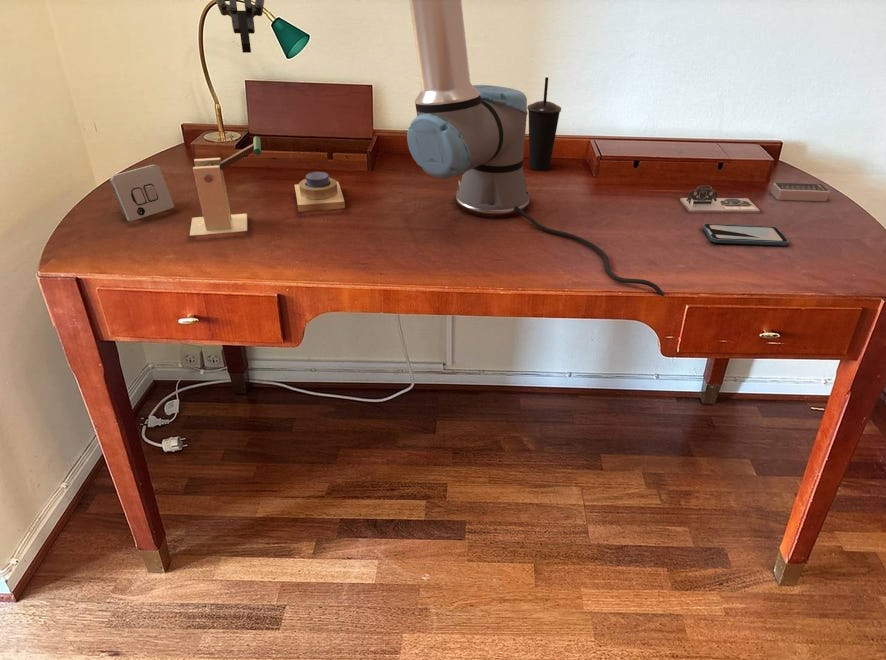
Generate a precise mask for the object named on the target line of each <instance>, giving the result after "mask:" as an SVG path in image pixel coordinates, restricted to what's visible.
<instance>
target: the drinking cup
mask: <svg viewBox="0 0 886 660" xmlns="http://www.w3.org/2000/svg"><path fill="white" fill-rule="evenodd" d="M548 86H549V77H547V76H546V77H545V78H544V90H543V100H538V101H535V102H533V103H530V104H527V112H528V162H529V164H528V165H529V169H532V170H536V171H546V170H549V169H550V167H551V162H552V156H553V151H554V145H555V141H556V135H557V130H558V124H559V119H560V118H559V117H560V113H561V112H562V107H561V106H560V105H559V104H556V103H555V102H553V101H548V99H547V98H548V88H549V87H548Z"/></svg>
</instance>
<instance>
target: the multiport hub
mask: <svg viewBox="0 0 886 660" xmlns="http://www.w3.org/2000/svg"><path fill="white" fill-rule="evenodd" d="M830 192H831V191H830V190H829V189H828V188H827V187H826V186H825V185H824V184H821V183H798V182H774V183H773V184H772V188H771V192H770V193H771V195H772V196H773V197H774V198H775V199H776V200H777V201H799V202H803V201H804V202H827V201H828V198H829V194H830Z"/></svg>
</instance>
